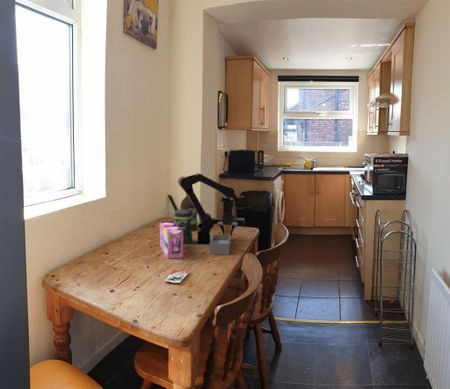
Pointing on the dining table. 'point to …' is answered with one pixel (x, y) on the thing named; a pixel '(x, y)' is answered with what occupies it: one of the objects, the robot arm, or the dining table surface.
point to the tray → (220, 244)
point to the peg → (227, 230)
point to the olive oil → (189, 206)
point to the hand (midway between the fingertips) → (227, 236)
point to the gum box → (171, 239)
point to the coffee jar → (184, 223)
